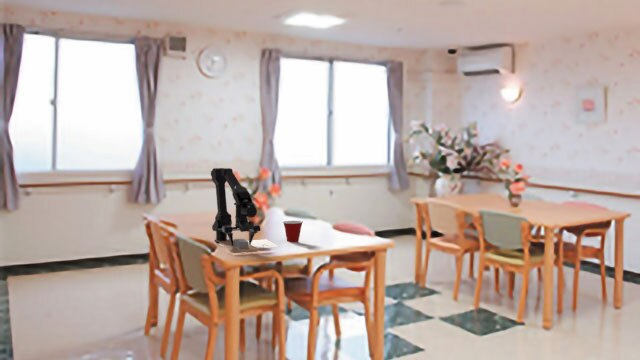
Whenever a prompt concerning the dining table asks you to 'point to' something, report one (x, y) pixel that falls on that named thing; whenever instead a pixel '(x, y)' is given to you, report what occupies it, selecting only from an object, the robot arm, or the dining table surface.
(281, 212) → the dining table surface
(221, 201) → the robot arm
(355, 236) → the dining table surface
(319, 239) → the dining table surface
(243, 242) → the block
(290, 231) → the plastic cup
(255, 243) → the primed board
